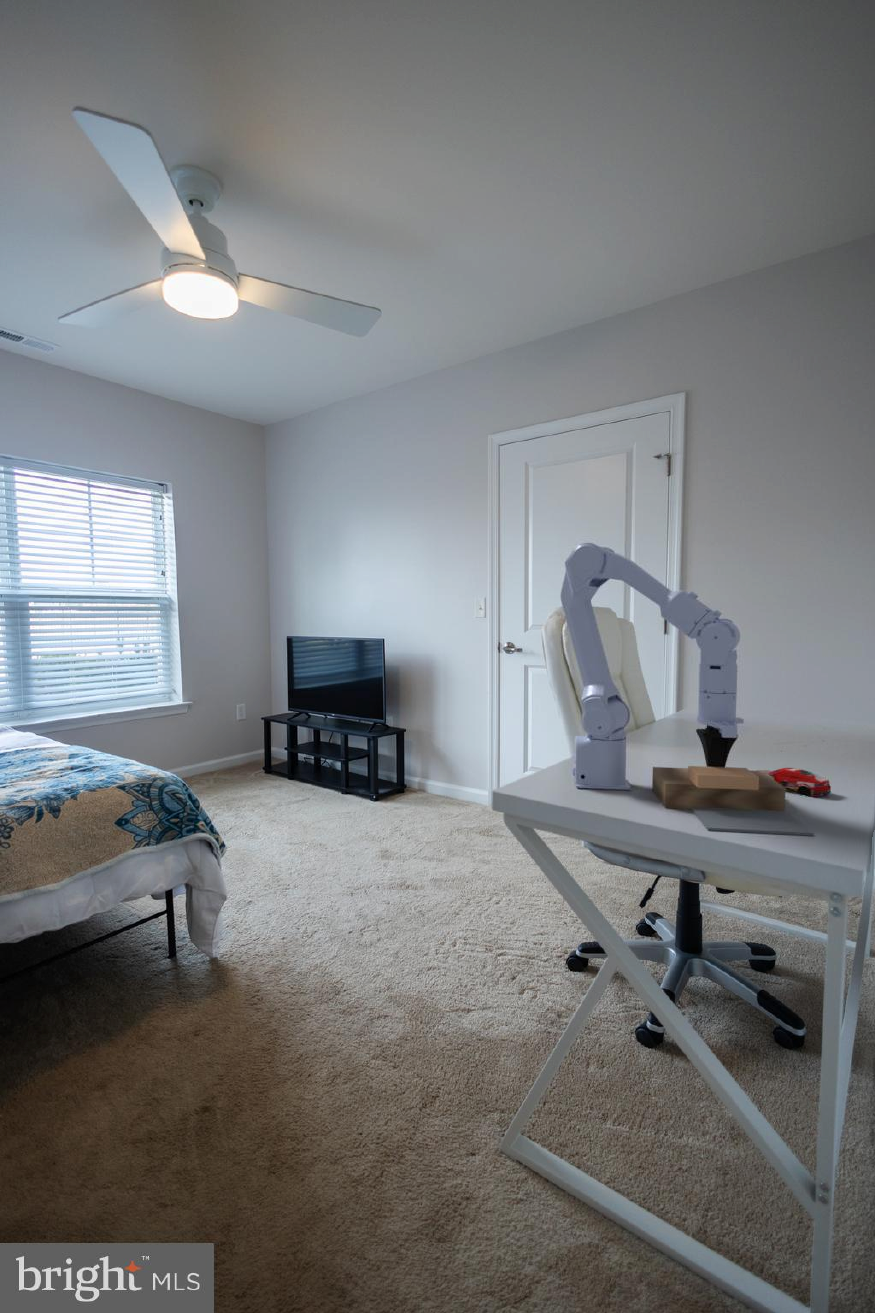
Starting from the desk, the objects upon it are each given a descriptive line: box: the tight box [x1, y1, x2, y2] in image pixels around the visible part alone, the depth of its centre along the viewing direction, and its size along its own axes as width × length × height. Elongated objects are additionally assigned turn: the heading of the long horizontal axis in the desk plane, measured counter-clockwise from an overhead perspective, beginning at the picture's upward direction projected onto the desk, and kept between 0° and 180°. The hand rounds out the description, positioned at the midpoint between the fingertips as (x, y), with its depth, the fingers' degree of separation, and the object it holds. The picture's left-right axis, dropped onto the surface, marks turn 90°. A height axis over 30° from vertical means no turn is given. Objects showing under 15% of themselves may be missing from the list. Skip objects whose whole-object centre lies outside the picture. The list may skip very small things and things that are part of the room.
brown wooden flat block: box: [651, 766, 787, 811], centre depth 102 cm, size 18×11×4 cm, turn 81°
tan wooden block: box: [687, 765, 759, 790], centre depth 98 cm, size 9×6×2 cm, turn 81°
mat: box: [690, 807, 814, 837], centre depth 92 cm, size 14×10×1 cm
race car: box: [756, 767, 832, 797], centre depth 109 cm, size 13×5×4 cm, turn 40°
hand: (715, 772), depth 102 cm, fingers closed
